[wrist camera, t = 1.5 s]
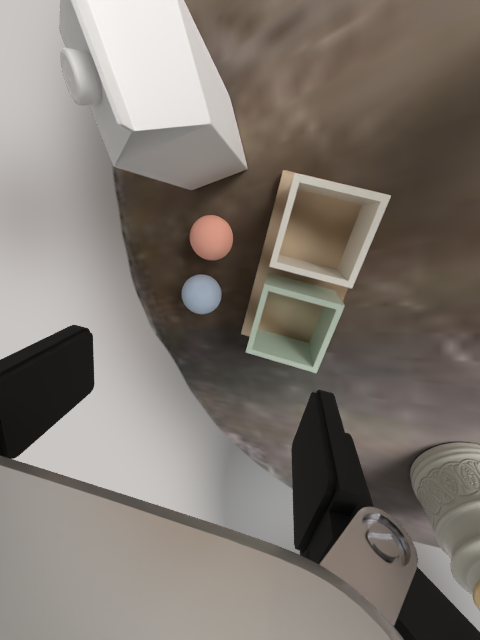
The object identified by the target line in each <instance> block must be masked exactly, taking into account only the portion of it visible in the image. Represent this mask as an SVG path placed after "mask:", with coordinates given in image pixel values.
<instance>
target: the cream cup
mask: <svg viewBox="0 0 480 640" xmlns="http://www.w3.org/2000/svg"><path fill="white" fill-rule="evenodd" d="M297 190H300V191H304V192H308V193H312V194H317V195H321V196H325V197H329V198H333V199H337V200H342V201H346V202H350V203H354V204H358V205H362V206H361V209H360V212H359V214H358V217H357V219H356V222H355V225H354V227H353V230H352V232H351V235H350V238H349V240H348V243H347V245H346V248H345V251H344V253H343V256H342V258H341V261H340V264H339V266H338V269H333V268H329V267H325V266H321V265H318V264H314V263H310V262H306V261H302V260H298V259H295V258H291V257H287V256H283V255H279V253H280V249H281V246H282V242H283V238H284V235H285V231H286V228H287V224H288V221H289V217H290V214H291V210H292V207H293V203H294V200H295V196H296V193H297ZM390 197H391V195H387V194H382V193H378V192H374V191H370V190H365V189H361V188H357V187H353V186H348V185H344V184H340V183H336V182H331V181H327V180H323V179H319V178H314V177H310V176H306V175H302V174H297V173H295V174H294V178H293V181H292V185H291V189H290V192H289V196H288V200H287V203H286V207H285V211H284V214H283V218H282V222H281V225H280V229H279V232H278V236H277V240H276V243H275V247H274V251H273V254H272V258H271V262H270V265H269V267H273V268H276V269H280V270H284V271H288V272H292V273H295V274H299V275H303V276H307V277H310V278H314V279H318V280H322V281H325V282H329V283H333V284H337V285H341V286H344V287H348V288H353V285H354V283H355V281H356V278H357V276H358V273H359V271H360V269H361V266H362V264H363V262H364V259H365V257H366V254H367V252H368V250H369V247H370V245H371V243H372V240H373V238H374V235H375V233H376V231H377V228H378V226H379V224H380V221H381V219H382V216H383V214H384V212H385V209H386V207H387V205H388V202H389V200H390Z"/></svg>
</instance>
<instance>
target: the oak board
mask: <svg viewBox="0 0 480 640" xmlns="http://www.w3.org/2000/svg"><path fill="white" fill-rule="evenodd" d="M294 174H295V173H294V172H290V171H286V170H283V173H282V177H281V181H280V184H279V188H278V192H277V196H276V200H275V204H274V208H273V212H272V215H271V219H270V223H269V227H268V231H267V235H266V239H265V243H264V246H263V250H262V254H261V258H260V262H259V266H258V270H257V274H256V278H255V281H254V285H253V289H252V293H251V297H250V301H249V305H248V309H247V312H246V316H245V320H244V324H243V328H242V332H241V334H242V335H246V336H249V337H250V334H251V331H252V327H253V323H254V320H255V316H256V312H257V309H258V305H259V302H260V298H261V294H262V291H263V287H264V284H265V281H266V278H267V275H268V273H272V274H276V275H279V276H283V277H287V278H291V279H294V280H298V281H302V282H305V283H309V284H313V285H317V286H320V287H324V288H328V289H332V290H335V292H336V293H337V295H338V296H339V298H340V299H341V301H342V302H343V300H344V297H345V295H346V293H347V290H348V287H344V286H341V285H337V284H333V283H329V282H325V281H322V280H318V279H314V278H310V277H307V276H303V275H299V274H295V273H292V272H288V271H284V270H280V269H276V268H273V267H269V265H270V262H271V258H272V254H273V251H274V247H275V243H276V240H277V236H278V232H279V229H280V225H281V222H282V218H283V214H284V211H285V207H286V203H287V200H288V196H289V192H290V189H291V185H292V181H293V178H294ZM297 174H298V173H297ZM302 175H303V174H302ZM306 176H307V175H306ZM310 177H311V176H310ZM314 178H315V177H314ZM319 179H320V178H319ZM323 180H324V179H323ZM327 181H328V180H327ZM331 182H332V181H331ZM336 183H337V182H336ZM340 184H341V183H340ZM344 185H345V184H344ZM348 186H349V185H348ZM353 187H354V186H353ZM357 188H358V187H357ZM361 189H362V188H361ZM365 190H366V189H365ZM370 191H371V190H370ZM374 192H375V191H374ZM378 193H379V192H378ZM382 194H383V193H382ZM361 206H362V205H358V204H354V203H350V202H346V201H342V200H337V199H333V198H329V197H325V196H321V195H317V194H312V193H308V192H304V191H300V190H297V193H296V196H295V200H294V203H293V207H292V210H291V214H290V217H289V221H288V224H287V228H286V231H285V235H284V238H283V242H282V246H281V249H280V253H279V255H283V256H287V257H291V258H295V259H298V260H302V261H306V262H310V263H314V264H318V265H321V266H325V267H329V268H333V269H338V266H339V264H340V261H341V258H342V256H343V253H344V251H345V248H346V245H347V243H348V240H349V238H350V235H351V232H352V230H353V227H354V225H355V222H356V219H357V217H358V214H359V212H360V209H361ZM322 308H323V306H321V305H318V304H314V303H310V302H307V301H303V300H299V299H296V298H292V297H288V296H285V295H281V294H277V293H274V292H270V291H268V295H267V298H266V302H265V305H264V309H263V312H262V316H261V319H260V323H259V326H258V329H261V330H265V331H268V332H272V333H275V334H279V335H282V336H286V337H289V338H293V339H296V340H300V341H303V342H307V343H309V342H310V339H311V336H312V334H313V331H314V329H315V326H316V323H317V321H318V318H319V316H320V313H321V310H322Z"/></svg>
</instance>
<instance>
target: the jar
mask: <svg viewBox="0 0 480 640" xmlns="http://www.w3.org/2000/svg"><path fill="white" fill-rule="evenodd" d="M410 479H411V483H412V488H413V490H414V492H415V495H416V497H417V499H418V500H419V502H420V503H421V505H422V507H423V509H424V511H425V513H426V515H427V517H428V520H429V522H430V524H431V526H432V528H433V530H434V532H435V536H436V540H437V542H438V544H439V546H440V547H441V549H442V550H443V551H444V552H445V553H446V554H447V555H448V556H449V557H450V559H451V563H450V568H451V572H452V575H453V577H454V579H455V580H456V581H457V582H458V584H459V585H460V586H461V587H462V588H464V589H465V590H466V591H468V592H469V593H471V594H473V600H474V603H475V605H476V606H477V608H478V609H479V610H480V445H478V444H473V443H463V442H458V443H448V444H443V445H439V446H436V447H433V448H431V449H429V450H427V451H425V452H424V453H422V454H421V455H420V456H419V457H418V458H417V459H416V460H415V461H414V463H413V464H412V466H411V469H410Z"/></svg>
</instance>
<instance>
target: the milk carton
mask: <svg viewBox="0 0 480 640" xmlns="http://www.w3.org/2000/svg"><path fill="white" fill-rule="evenodd" d="M59 26H60V27H59V28H60V33H61V36H62V38H63V41H64V44H65V46H66V48H63V49H62V50H61V67H62V72H63V76H64V79H65V82H66V85H67V88H68V90H69V92H70V94H71V96H72V98H73V100H74V101H75V103H76V104H78V105H89V107H90V109H91V112H92V114H93V117H94V119H95V122H96V124H97V126H98V129H99V132H100V134H101V137H102V139H103V142H104V144H105V147H106V149H107V152H108V154H109V157H110V159H111V162H112V164H113V166H114V167H117V168H119V169H123V170H126V171H129V172H132V173H136V174H139V175H142V176H146V177H149V178H152V179H156V180H159V181H162V182H165V183H169V184H172V185H175V186H179V187H182V188H185V189H188V190H194V189H197V188H199V187H202V186H205V185H207V184H210V183H213V182H215V181H218V180H220V179H223V178H226V177H228V176H231V175H234V174H236V173H239V172H241V171H244V170H247V163H246V159H245V155H244V151H243V147H242V143H241V139H240V135H239V131H238V127H237V123H236V119H235V116H234V112H233V108H232V104H231V100H230V97H229V94H228V92H227V90H226V88H225V86H224V84H223V82H222V79H221V77H220V75H219V73H218V71H217V69H216V67H215V65H214V63H213V61H212V58H211V56H210V54H209V52H208V50H207V48H206V46H205V44H204V42H203V39H202V37H201V35H200V33H199V31H198V29H197V27H196V25H195V23H194V21H193V18H192V16H191V14H190V12H189V10H188V8H187V6H186V4H185V2H184V0H61V1H60V25H59Z"/></svg>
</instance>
